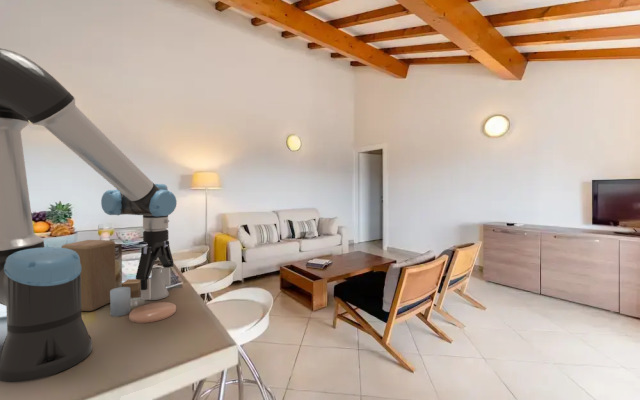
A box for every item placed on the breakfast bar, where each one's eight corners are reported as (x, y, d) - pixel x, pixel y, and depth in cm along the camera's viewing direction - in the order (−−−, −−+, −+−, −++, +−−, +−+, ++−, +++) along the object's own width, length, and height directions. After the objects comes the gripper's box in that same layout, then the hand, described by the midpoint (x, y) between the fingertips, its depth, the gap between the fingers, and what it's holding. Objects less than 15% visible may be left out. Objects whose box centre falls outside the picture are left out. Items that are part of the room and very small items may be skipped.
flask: (139, 299, 100) (138, 269, 100) (157, 292, 107) (157, 264, 106) (156, 302, 98) (155, 271, 97) (173, 295, 104) (173, 266, 104)
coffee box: (107, 293, 105) (106, 248, 104) (88, 294, 105) (87, 248, 104) (122, 285, 114) (122, 243, 114) (105, 285, 114) (104, 243, 113)
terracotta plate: (164, 322, 83) (164, 318, 83) (119, 323, 82) (119, 318, 82) (182, 305, 95) (182, 302, 95) (143, 306, 94) (143, 302, 94)
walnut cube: (138, 297, 102) (138, 283, 102) (121, 298, 101) (121, 283, 101) (143, 292, 107) (143, 278, 107) (128, 293, 106) (127, 279, 106)
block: (117, 300, 99) (116, 239, 98) (91, 312, 89) (90, 245, 88) (89, 299, 100) (88, 239, 99) (60, 311, 90) (59, 244, 89)
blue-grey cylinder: (124, 316, 87) (123, 292, 86) (106, 316, 87) (106, 292, 86) (134, 309, 92) (133, 286, 91) (117, 309, 92) (117, 286, 91)
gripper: (147, 235, 89) (148, 305, 90) (182, 225, 114) (183, 280, 115) (121, 235, 89) (122, 306, 90) (162, 225, 114) (163, 280, 115)
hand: (156, 292), depth 102 cm, fingers open, 13 cm apart
